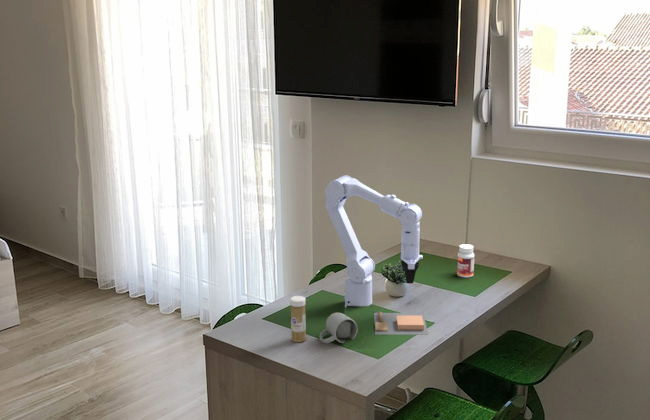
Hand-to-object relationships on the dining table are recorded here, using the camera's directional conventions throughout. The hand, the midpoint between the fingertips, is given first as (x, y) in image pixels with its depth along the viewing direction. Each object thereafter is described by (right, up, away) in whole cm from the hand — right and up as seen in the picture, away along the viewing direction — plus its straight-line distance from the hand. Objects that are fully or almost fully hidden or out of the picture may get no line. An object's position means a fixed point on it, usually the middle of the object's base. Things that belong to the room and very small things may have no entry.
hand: (409, 282), depth 224 cm
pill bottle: (+25, -1, +35) cm, 43 cm away
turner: (-10, -12, -6) cm, 17 cm away
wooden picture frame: (-1, -11, -6) cm, 12 cm away
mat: (-4, -13, -7) cm, 15 cm away
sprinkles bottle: (-35, -16, -15) cm, 42 cm away
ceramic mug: (-24, -16, -15) cm, 32 cm away
